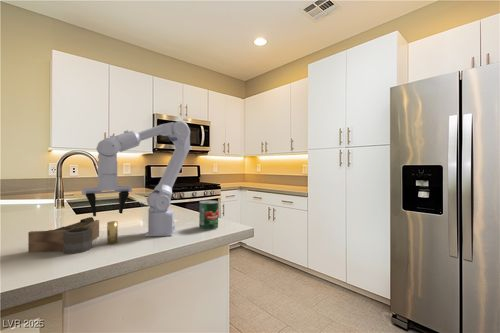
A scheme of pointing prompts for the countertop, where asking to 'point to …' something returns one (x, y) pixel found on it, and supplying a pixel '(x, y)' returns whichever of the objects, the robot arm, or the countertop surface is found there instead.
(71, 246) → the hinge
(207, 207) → the canned tomato
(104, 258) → the countertop surface
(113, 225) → the pin
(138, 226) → the countertop surface
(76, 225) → the hand tool
